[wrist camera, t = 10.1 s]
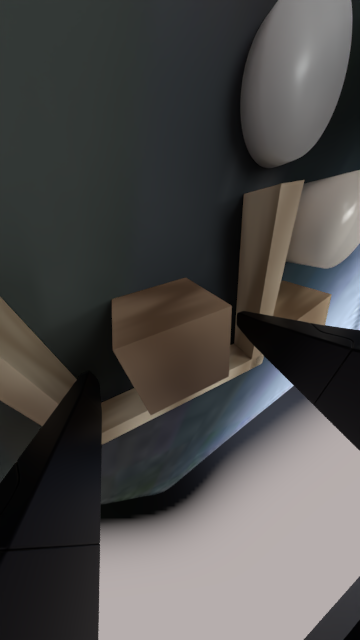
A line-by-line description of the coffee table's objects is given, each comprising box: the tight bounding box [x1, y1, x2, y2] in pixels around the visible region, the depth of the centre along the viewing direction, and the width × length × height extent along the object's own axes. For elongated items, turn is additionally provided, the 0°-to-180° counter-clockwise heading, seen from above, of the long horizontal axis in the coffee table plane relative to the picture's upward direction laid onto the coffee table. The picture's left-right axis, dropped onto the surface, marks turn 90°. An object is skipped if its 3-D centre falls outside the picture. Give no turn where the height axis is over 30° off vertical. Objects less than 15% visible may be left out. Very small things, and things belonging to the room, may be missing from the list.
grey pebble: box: [240, 0, 352, 168], centre depth 7 cm, size 5×5×2 cm
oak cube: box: [273, 281, 331, 325], centre depth 14 cm, size 4×4×4 cm
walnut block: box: [112, 278, 232, 415], centre depth 9 cm, size 5×5×5 cm
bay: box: [0, 180, 304, 444], centre depth 10 cm, size 17×14×2 cm
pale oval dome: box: [286, 170, 360, 268], centre depth 10 cm, size 5×5×4 cm
